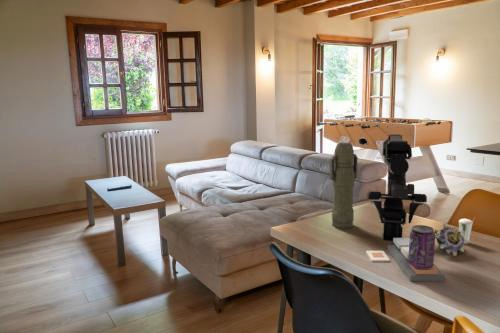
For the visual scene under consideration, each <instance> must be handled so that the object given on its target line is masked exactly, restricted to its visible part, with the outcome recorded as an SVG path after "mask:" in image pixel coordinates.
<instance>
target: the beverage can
mask: <svg viewBox="0 0 500 333" xmlns="http://www.w3.org/2000/svg"><path fill="white" fill-rule="evenodd" d="M434 232H435V229H434V227H432V226H428V225H423V224H415V225H413V226H411V230H410V232H409V238H410V241H409V258H408V263H409V264H410V265H412V266H413V267H415V268H419V269H428V268H431V267H433V263H435V262H434V260H435V259H434V258H435V247H436V246H435V245H436V238H435V235H436V233H435V234H434Z"/></svg>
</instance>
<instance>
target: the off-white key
mask: <svg viewBox="0 0 500 333" xmlns="http://www.w3.org/2000/svg"><path fill="white" fill-rule="evenodd" d="M401 252H402V253H403V255H404V256H405V257H406V258H407V259H408V258H409V247H401Z"/></svg>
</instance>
